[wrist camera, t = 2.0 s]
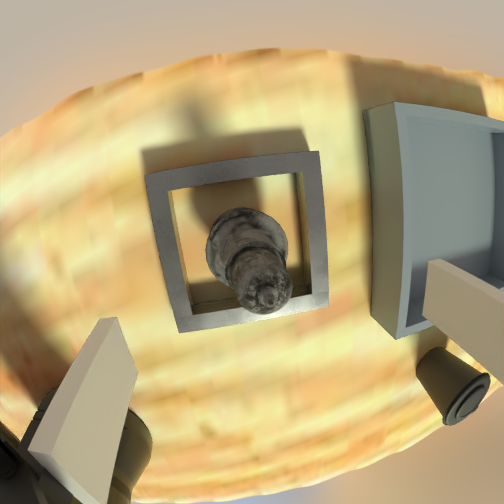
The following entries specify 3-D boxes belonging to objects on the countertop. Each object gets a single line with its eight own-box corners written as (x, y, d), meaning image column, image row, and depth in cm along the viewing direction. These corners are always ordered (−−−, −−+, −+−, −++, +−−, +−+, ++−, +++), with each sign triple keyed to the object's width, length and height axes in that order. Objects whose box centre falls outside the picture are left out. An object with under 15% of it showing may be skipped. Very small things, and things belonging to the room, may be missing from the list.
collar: (180, 321, 25) (179, 333, 24) (149, 174, 22) (144, 174, 20) (321, 296, 27) (329, 305, 25) (310, 151, 23) (318, 150, 21)
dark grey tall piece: (198, 212, 23) (188, 256, 12) (271, 197, 24) (328, 226, 12) (214, 280, 25) (221, 370, 13) (282, 265, 25) (337, 340, 14)
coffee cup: (434, 384, 34) (471, 423, 25) (398, 388, 33) (436, 436, 23) (459, 338, 32) (503, 374, 23) (425, 337, 31) (473, 381, 21)
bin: (370, 315, 28) (395, 339, 24) (362, 110, 22) (393, 101, 18) (486, 276, 30) (511, 289, 25) (489, 125, 24) (518, 125, 20)
